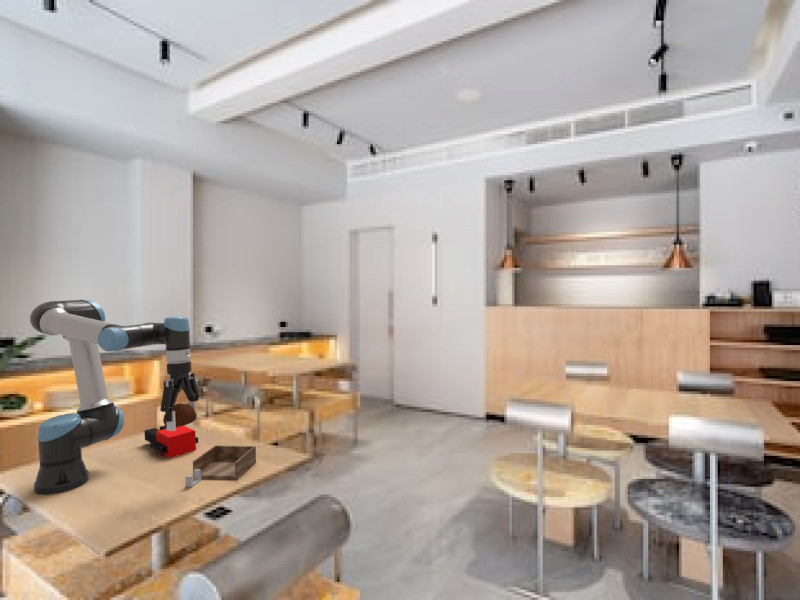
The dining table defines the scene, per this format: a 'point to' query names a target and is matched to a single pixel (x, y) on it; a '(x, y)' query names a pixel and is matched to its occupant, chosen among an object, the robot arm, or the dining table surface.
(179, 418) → the potato
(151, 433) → the red-and-black block model
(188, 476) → the clip
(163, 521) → the dining table surface
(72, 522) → the dining table surface
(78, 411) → the robot arm
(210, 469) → the holder
